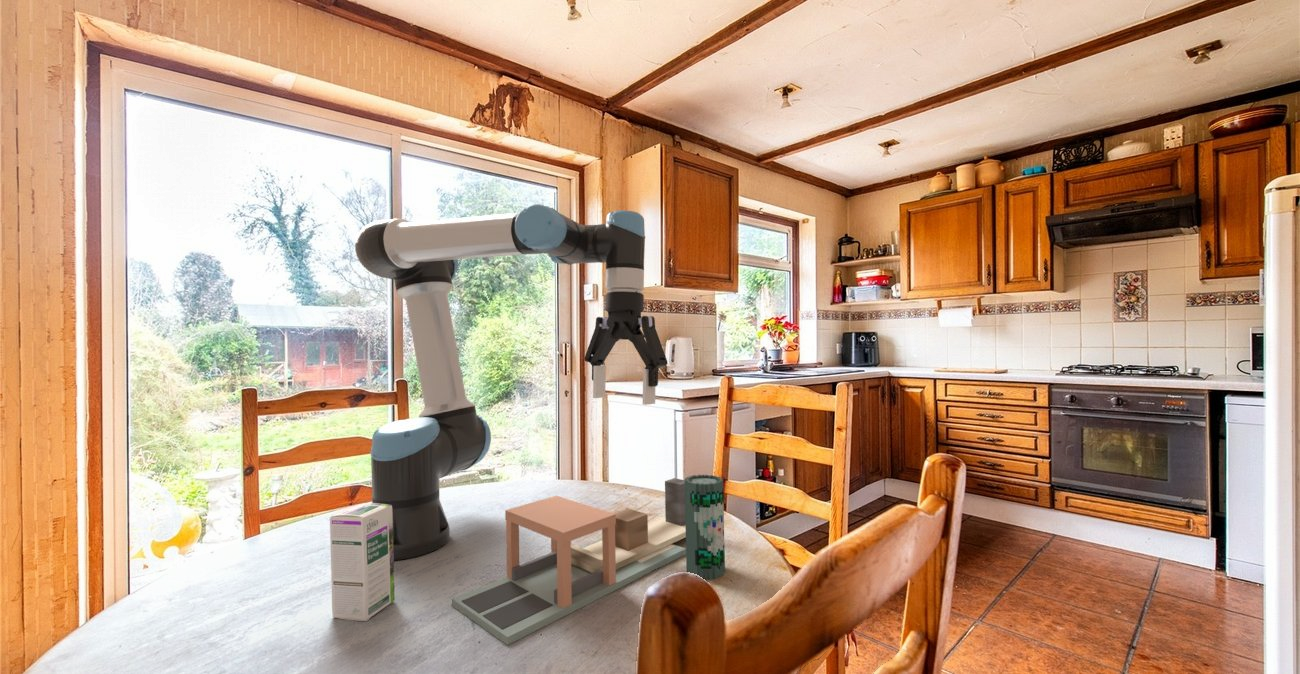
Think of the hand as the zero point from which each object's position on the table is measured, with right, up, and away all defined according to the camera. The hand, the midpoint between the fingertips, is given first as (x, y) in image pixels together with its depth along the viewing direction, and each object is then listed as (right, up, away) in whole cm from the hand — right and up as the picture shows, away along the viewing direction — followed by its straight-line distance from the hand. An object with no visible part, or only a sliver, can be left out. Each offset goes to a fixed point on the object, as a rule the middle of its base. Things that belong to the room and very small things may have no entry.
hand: (622, 400), depth 98 cm
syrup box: (-36, -27, -26) cm, 52 cm away
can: (+14, -26, -15) cm, 34 cm away
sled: (+3, -25, -7) cm, 26 cm away
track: (-6, -27, -17) cm, 32 cm away
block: (+1, -24, -9) cm, 26 cm away
